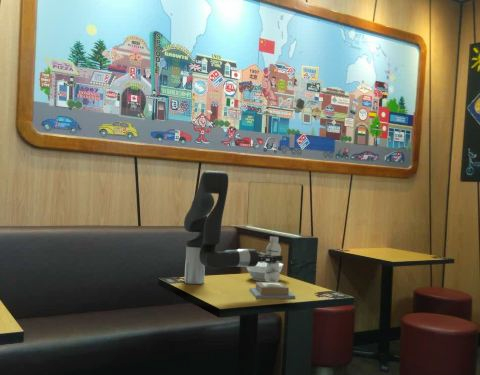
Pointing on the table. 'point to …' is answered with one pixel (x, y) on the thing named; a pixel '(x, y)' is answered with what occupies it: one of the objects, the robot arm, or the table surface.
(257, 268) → the bowl
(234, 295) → the table surface
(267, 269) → the plastic bottle
